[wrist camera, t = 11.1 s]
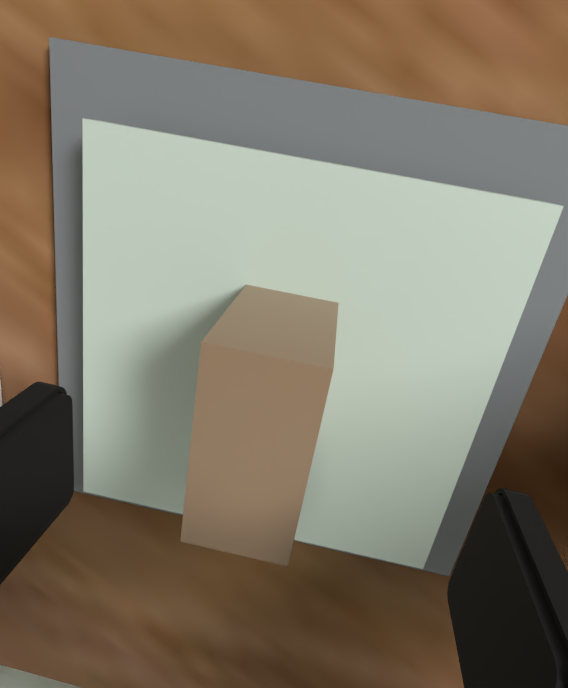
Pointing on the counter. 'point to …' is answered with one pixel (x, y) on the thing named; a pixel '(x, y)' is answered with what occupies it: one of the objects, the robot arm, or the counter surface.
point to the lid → (290, 339)
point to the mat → (324, 145)
